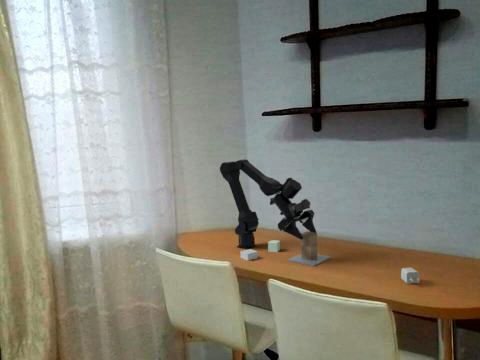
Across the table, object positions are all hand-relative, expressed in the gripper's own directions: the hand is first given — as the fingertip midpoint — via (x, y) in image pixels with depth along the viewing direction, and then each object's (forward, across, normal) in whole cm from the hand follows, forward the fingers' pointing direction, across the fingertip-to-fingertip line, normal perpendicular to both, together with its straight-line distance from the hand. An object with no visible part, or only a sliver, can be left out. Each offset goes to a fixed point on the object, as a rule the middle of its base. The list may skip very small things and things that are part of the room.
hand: (309, 236), depth 171 cm
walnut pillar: (+6, 0, +6) cm, 9 cm away
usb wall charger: (+35, -2, -22) cm, 42 cm away
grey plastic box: (-8, -12, +22) cm, 26 cm away
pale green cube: (-7, +2, +21) cm, 22 cm away
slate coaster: (+6, 0, +7) cm, 9 cm away
